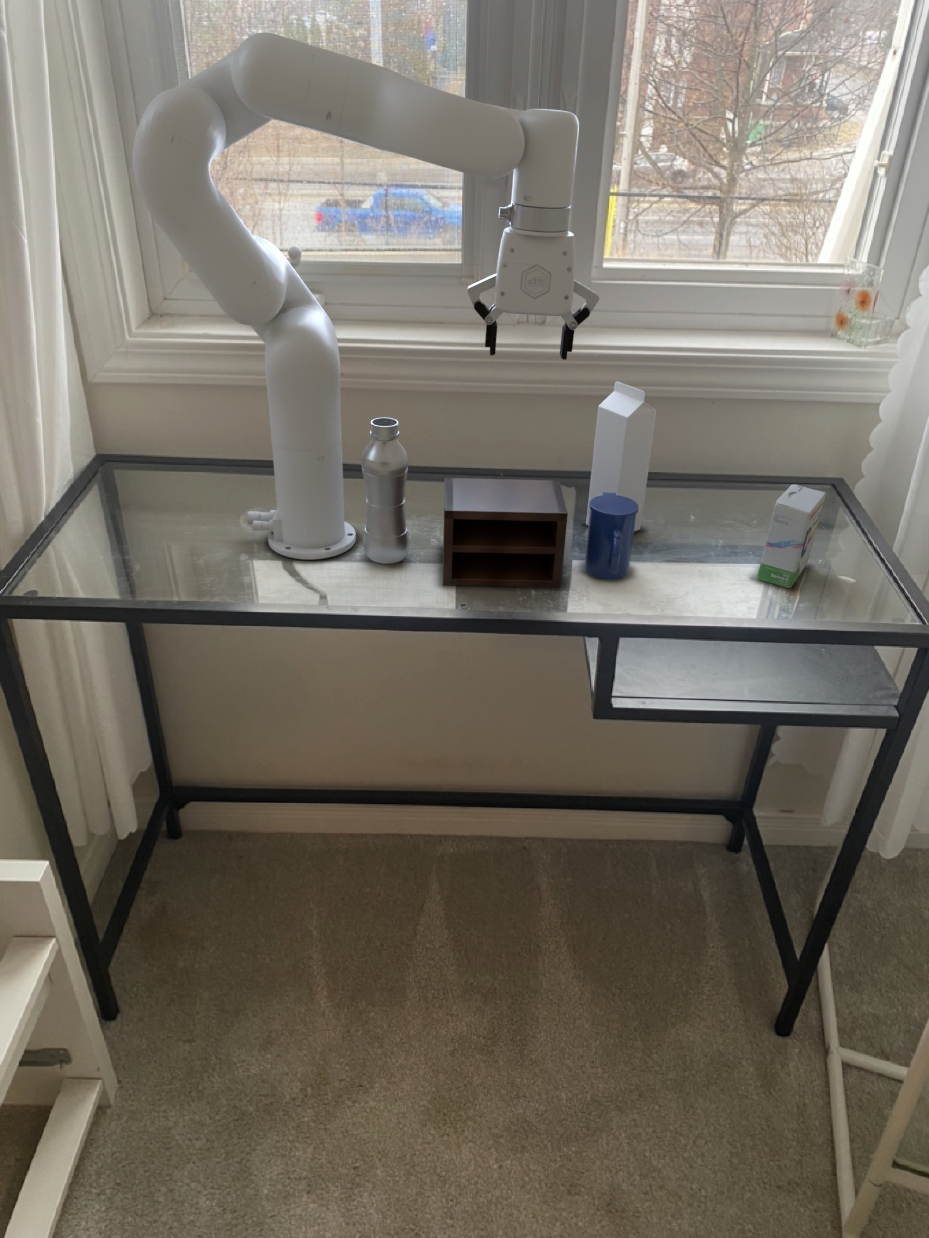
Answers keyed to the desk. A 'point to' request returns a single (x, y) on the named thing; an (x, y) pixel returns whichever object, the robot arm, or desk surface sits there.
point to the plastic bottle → (385, 493)
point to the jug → (610, 536)
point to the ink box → (791, 535)
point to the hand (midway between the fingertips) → (527, 354)
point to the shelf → (503, 532)
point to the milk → (622, 447)
